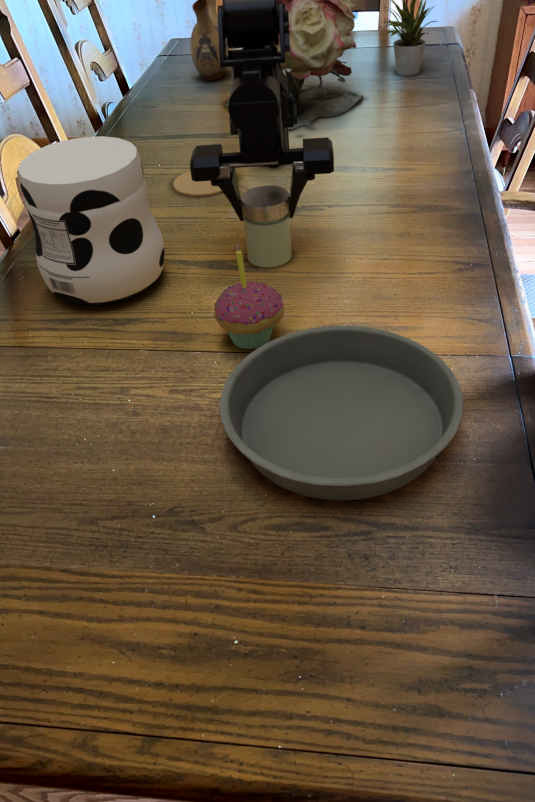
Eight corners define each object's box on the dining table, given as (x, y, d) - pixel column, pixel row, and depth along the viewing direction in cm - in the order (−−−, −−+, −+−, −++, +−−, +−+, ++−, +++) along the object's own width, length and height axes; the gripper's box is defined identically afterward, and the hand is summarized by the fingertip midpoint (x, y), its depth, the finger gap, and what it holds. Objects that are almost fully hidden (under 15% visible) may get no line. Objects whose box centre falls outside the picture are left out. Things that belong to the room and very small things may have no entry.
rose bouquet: (300, 138, 138) (293, -43, 118) (213, 104, 156) (194, -57, 136) (393, 102, 149) (401, -68, 129) (302, 75, 167) (296, -78, 147)
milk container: (165, 244, 109) (143, 126, 97) (173, 305, 96) (149, 176, 84) (50, 261, 108) (14, 143, 96) (43, 325, 95) (0, 197, 83)
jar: (266, 241, 108) (262, 189, 102) (300, 252, 104) (298, 199, 99) (238, 259, 104) (233, 206, 99) (273, 272, 101) (268, 217, 95)
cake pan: (240, 355, 87) (236, 324, 84) (448, 356, 84) (451, 324, 81) (206, 511, 68) (200, 479, 65) (471, 520, 65) (477, 486, 62)
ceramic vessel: (201, 67, 177) (186, -50, 161) (237, 66, 176) (226, -53, 160) (188, 89, 165) (171, -36, 149) (227, 88, 164) (214, -39, 147)
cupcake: (208, 330, 91) (196, 245, 83) (270, 311, 93) (263, 227, 85) (233, 367, 85) (221, 279, 77) (298, 346, 87) (293, 259, 79)
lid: (240, 223, 97) (238, 208, 96) (242, 200, 102) (241, 186, 101) (290, 220, 97) (290, 205, 95) (290, 197, 102) (289, 183, 100)
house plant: (375, 61, 171) (377, -16, 160) (435, 59, 169) (440, -19, 158) (374, 81, 160) (376, -1, 149) (437, 79, 158) (443, -4, 147)
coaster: (203, 165, 131) (203, 162, 131) (248, 177, 126) (248, 175, 125) (160, 187, 125) (160, 185, 125) (206, 201, 119) (206, 199, 119)
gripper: (329, 79, 96) (330, 189, 106) (190, 88, 97) (205, 197, 107) (333, 108, 87) (334, 225, 97) (182, 118, 88) (198, 232, 99)
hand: (266, 218), depth 100 cm, fingers closed on lid, 6 cm apart
